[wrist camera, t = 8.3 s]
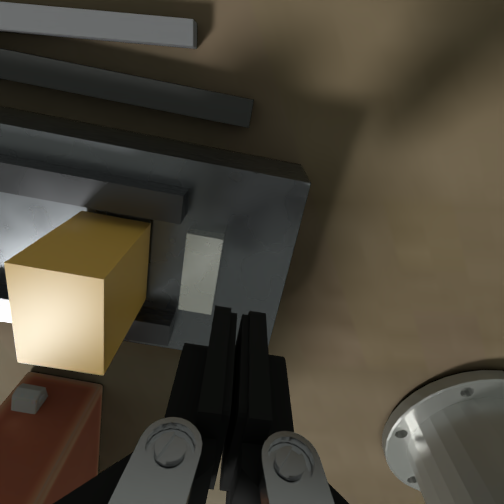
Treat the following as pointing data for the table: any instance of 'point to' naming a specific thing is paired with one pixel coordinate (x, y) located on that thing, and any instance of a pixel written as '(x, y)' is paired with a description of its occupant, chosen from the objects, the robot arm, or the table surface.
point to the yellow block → (78, 291)
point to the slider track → (157, 216)
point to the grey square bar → (98, 25)
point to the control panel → (48, 438)
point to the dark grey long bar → (124, 88)
